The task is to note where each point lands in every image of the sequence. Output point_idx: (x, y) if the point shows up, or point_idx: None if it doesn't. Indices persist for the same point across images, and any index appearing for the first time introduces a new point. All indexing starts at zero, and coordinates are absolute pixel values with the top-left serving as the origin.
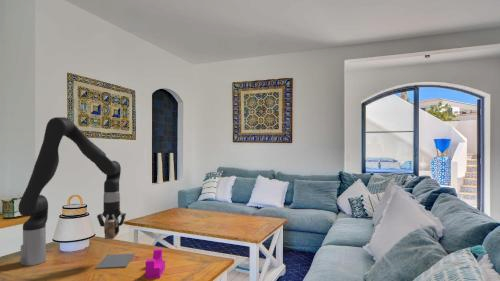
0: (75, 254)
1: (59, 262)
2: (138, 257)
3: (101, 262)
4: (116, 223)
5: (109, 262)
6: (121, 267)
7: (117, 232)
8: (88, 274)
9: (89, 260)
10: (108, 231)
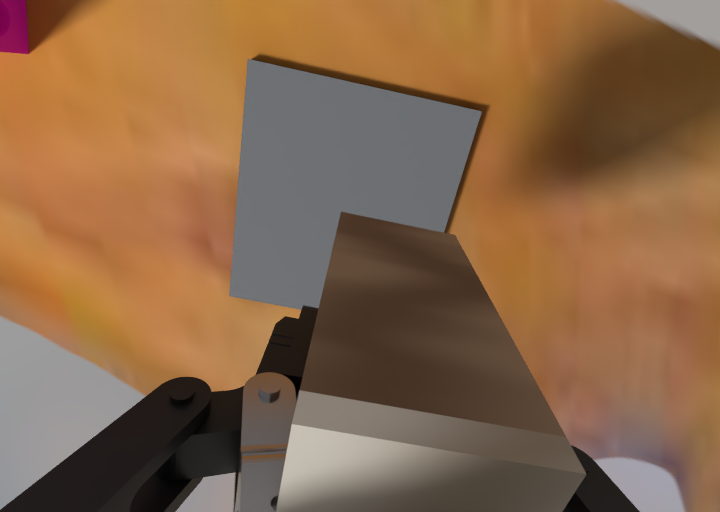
0: (603, 409)
1: (703, 318)
2: (193, 232)
3: (442, 205)
4: (262, 434)
5: (385, 186)
6: (285, 67)
7: (288, 322)
8: (527, 10)
9: (522, 289)
10: (417, 275)
